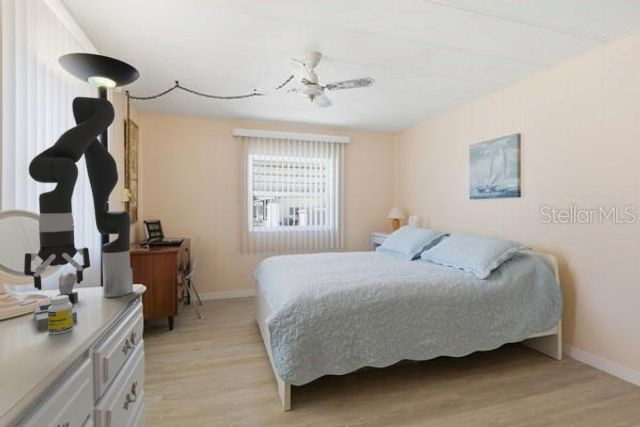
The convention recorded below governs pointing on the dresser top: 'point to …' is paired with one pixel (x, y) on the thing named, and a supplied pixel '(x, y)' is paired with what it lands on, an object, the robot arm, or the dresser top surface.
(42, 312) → the gray rectangular box
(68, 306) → the supplement bottle
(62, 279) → the stone bust sculpture
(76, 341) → the dresser top surface
